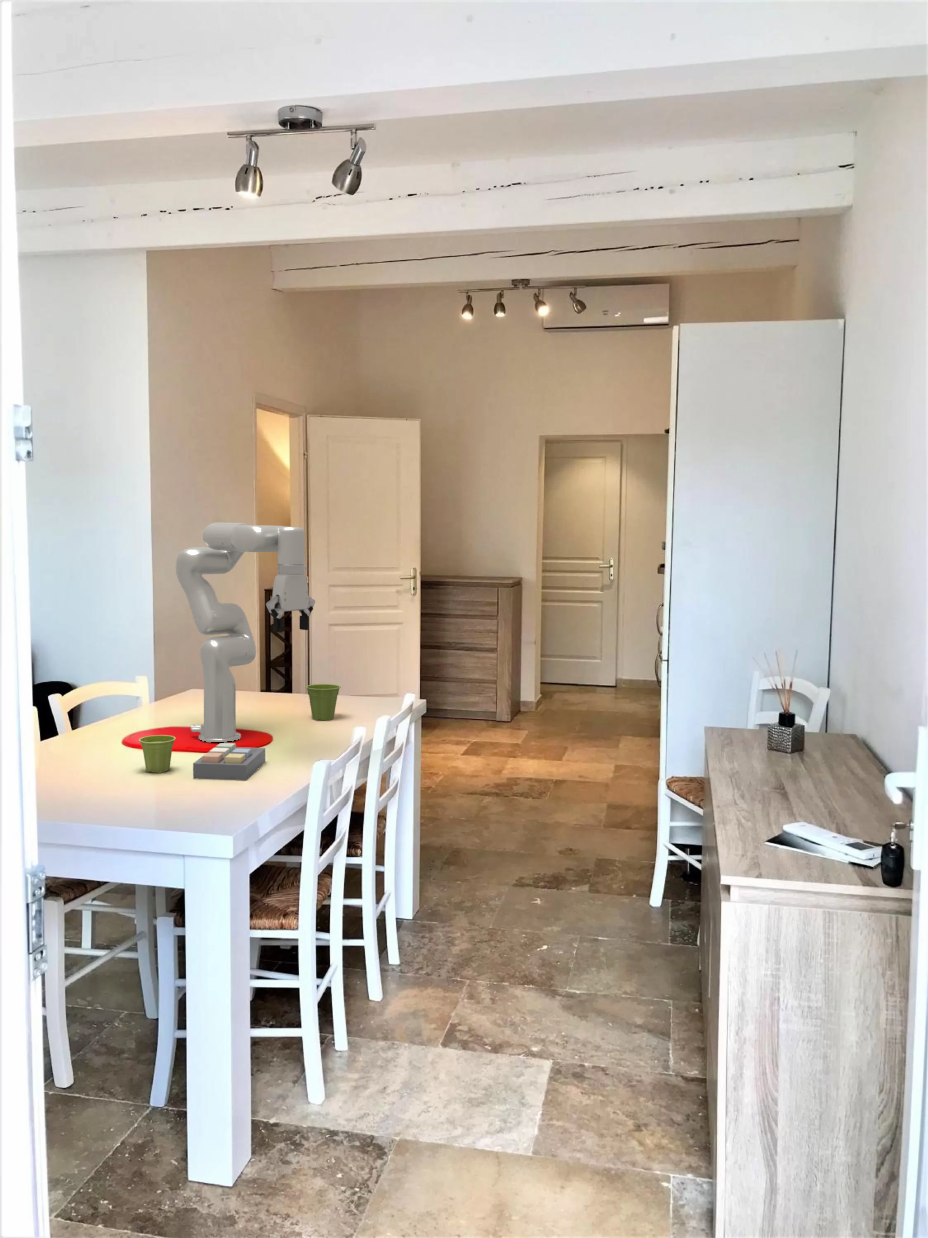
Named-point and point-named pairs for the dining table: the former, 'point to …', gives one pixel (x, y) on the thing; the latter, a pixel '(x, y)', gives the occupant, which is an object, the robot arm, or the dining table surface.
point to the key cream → (220, 751)
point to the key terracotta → (213, 757)
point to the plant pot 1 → (157, 752)
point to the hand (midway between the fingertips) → (291, 631)
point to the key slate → (242, 752)
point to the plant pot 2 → (323, 700)
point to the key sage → (227, 746)
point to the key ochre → (235, 758)
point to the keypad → (230, 767)
